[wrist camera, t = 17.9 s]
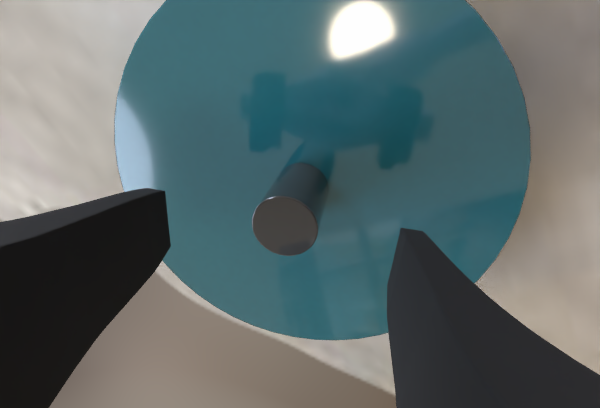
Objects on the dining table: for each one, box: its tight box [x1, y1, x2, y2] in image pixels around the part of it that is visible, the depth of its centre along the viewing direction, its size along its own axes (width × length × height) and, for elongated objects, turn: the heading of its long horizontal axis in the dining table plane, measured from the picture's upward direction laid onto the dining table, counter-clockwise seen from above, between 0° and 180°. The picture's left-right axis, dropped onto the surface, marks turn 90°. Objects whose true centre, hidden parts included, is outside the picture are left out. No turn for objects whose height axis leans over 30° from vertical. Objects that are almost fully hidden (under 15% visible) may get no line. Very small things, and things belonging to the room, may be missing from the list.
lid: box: [115, 0, 531, 340], centre depth 14 cm, size 18×18×5 cm
